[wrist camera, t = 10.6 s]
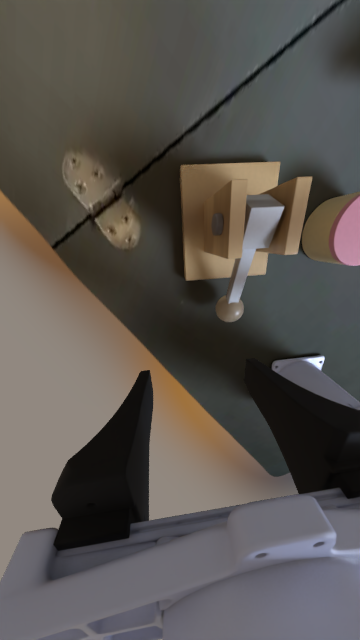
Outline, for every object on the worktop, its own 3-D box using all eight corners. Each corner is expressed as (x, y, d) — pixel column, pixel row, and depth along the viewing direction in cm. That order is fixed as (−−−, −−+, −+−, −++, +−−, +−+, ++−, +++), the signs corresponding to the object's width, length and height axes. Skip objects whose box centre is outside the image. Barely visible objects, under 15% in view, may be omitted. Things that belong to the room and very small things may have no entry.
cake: (346, 259, 22) (385, 263, 18) (296, 262, 21) (325, 268, 18) (365, 195, 19) (416, 185, 16) (308, 198, 19) (346, 188, 15)
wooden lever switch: (260, 272, 22) (314, 291, 14) (184, 278, 21) (199, 301, 13) (273, 166, 17) (360, 110, 10) (179, 169, 17) (196, 112, 9)
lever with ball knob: (235, 307, 22) (243, 326, 20) (211, 309, 22) (217, 328, 20) (272, 192, 13) (293, 207, 11) (232, 194, 13) (246, 209, 11)
